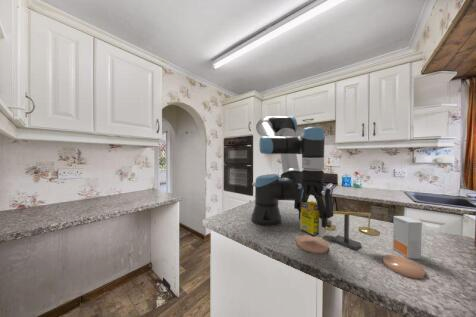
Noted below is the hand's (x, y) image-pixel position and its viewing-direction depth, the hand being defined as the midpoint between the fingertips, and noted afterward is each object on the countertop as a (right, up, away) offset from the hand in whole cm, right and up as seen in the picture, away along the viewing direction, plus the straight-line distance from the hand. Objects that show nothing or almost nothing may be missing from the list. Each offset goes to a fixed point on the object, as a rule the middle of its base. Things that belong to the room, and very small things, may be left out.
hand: (312, 231), depth 64 cm
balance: (+14, -5, +2) cm, 15 cm away
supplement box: (0, 0, 0) cm, 1 cm away
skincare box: (+30, -6, -5) cm, 31 cm away
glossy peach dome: (+22, -5, -12) cm, 26 cm away
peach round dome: (0, -5, 0) cm, 5 cm away
